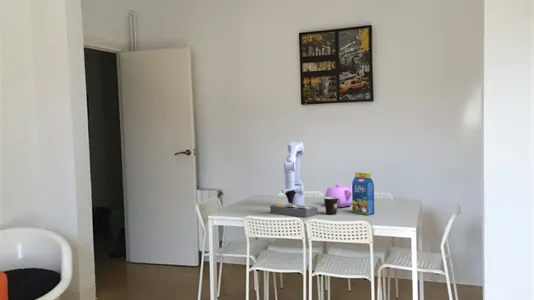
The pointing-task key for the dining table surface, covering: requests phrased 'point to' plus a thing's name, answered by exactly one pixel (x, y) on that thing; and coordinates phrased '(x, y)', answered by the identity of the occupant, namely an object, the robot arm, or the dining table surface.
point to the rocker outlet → (304, 207)
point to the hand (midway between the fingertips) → (290, 203)
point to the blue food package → (363, 194)
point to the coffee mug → (331, 205)
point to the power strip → (294, 211)
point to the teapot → (341, 194)
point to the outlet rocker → (282, 203)
